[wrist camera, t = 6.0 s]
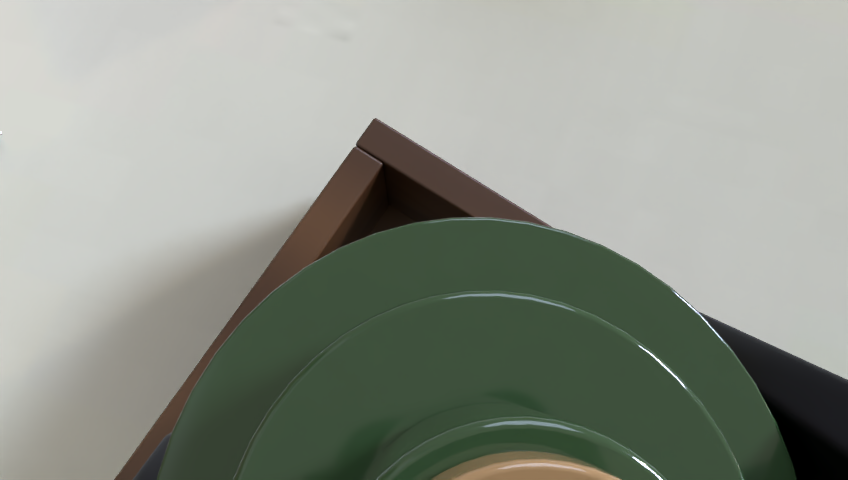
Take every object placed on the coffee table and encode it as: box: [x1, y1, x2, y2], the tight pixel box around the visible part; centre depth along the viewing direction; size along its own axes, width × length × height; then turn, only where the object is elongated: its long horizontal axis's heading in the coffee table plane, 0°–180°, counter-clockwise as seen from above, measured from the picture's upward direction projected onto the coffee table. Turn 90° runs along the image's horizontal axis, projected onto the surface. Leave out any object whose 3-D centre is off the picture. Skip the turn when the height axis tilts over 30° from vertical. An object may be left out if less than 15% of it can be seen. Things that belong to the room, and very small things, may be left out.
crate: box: [114, 118, 553, 480], centre depth 13 cm, size 10×10×4 cm
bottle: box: [157, 217, 797, 480], centre depth 8 cm, size 6×6×11 cm
